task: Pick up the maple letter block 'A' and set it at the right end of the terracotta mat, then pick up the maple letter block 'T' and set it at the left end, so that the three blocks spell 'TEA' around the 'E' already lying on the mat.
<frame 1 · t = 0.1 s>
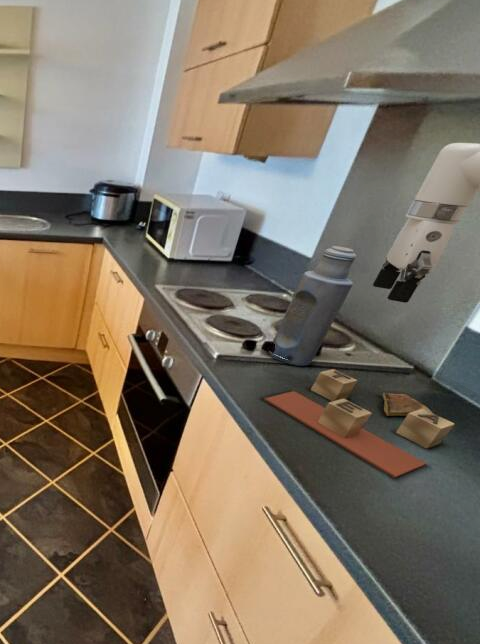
hand: (388, 293, 89), 24 cm above the counter, tool pointing down, fingers open, 9 cm apart
bottle: (288, 358, 111), on the counter
letter A: (417, 438, 83), on the counter
word mat: (336, 429, 84), on the counter
letter T: (328, 394, 96), on the counter
shard: (404, 412, 91), on the counter
letter E: (344, 417, 82), on the word mat
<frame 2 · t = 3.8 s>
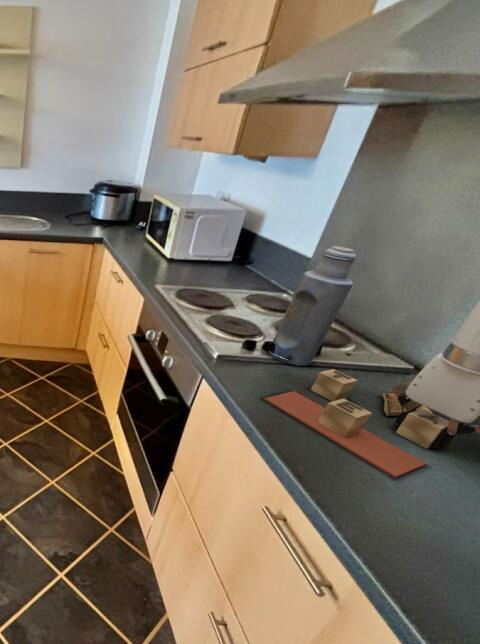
hand: (418, 436, 83), 0 cm above the counter, tool pointing down, fingers closed on letter A, 5 cm apart
letter A: (417, 438, 83), on the counter, touching gripper
everything else where it was.
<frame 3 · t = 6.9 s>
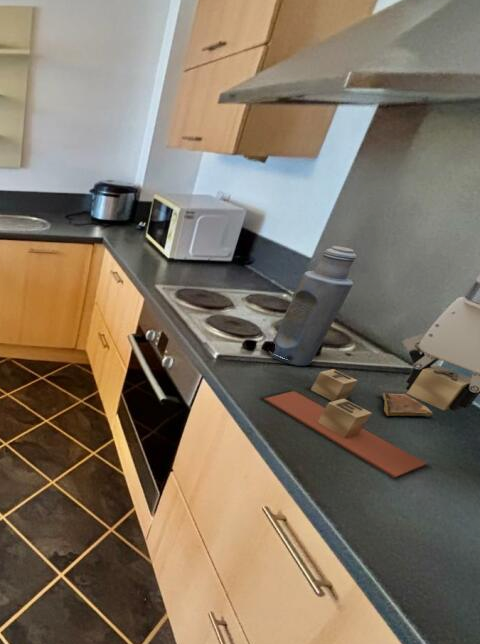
hand: (433, 397, 70), 14 cm above the counter, tool pointing down, fingers closed on letter A, 5 cm apart
letter A: (432, 399, 71), point 14 cm above the counter, touching gripper
everything else where it was.
when the fingers open (1 cm above the counter, at t = 10.2 s): letter A stays where it is, resting on word mat.
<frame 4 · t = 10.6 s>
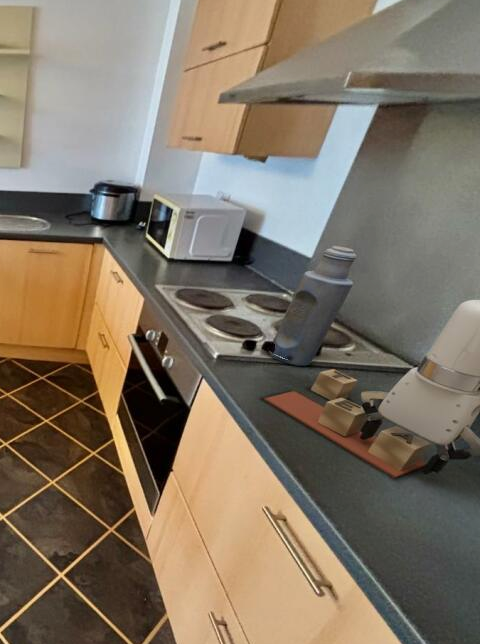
hand: (395, 453, 76), 2 cm above the counter, tool pointing down, fingers open, 8 cm apart
letter A: (390, 458, 76), resting on word mat
letter E: (343, 416, 82), on the word mat, touching gripper
everything else where it was.
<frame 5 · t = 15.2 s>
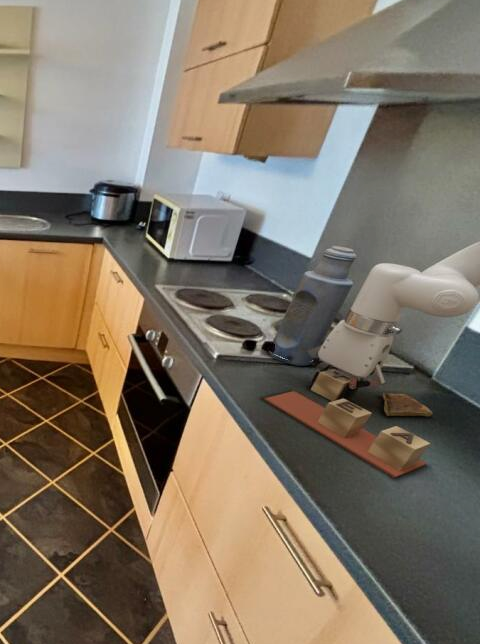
hand: (329, 392, 96), 0 cm above the counter, tool pointing down, fingers closed on letter T, 5 cm apart
letter T: (328, 394, 96), on the counter, touching gripper
letter E: (344, 417, 82), on the word mat
everything else where it was.
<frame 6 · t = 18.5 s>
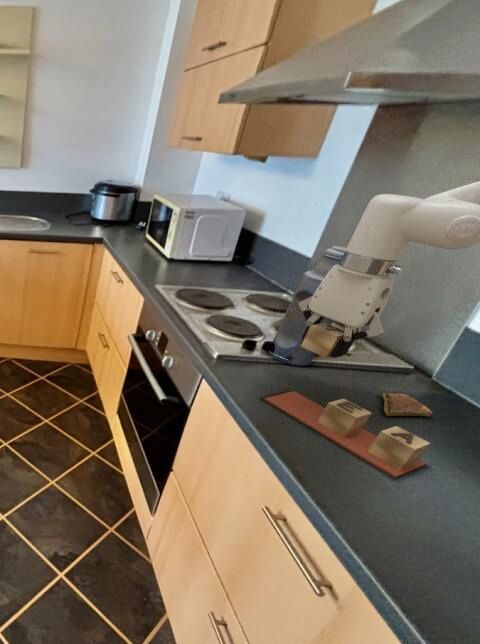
hand: (321, 348, 85), 14 cm above the counter, tool pointing down, fingers closed on letter T, 5 cm apart
letter T: (320, 350, 85), point 13 cm above the counter, touching gripper
everything else where it was.
when the fingers open (1 cm above the counter, at t = 21.8 s): letter T stays where it is, resting on word mat.
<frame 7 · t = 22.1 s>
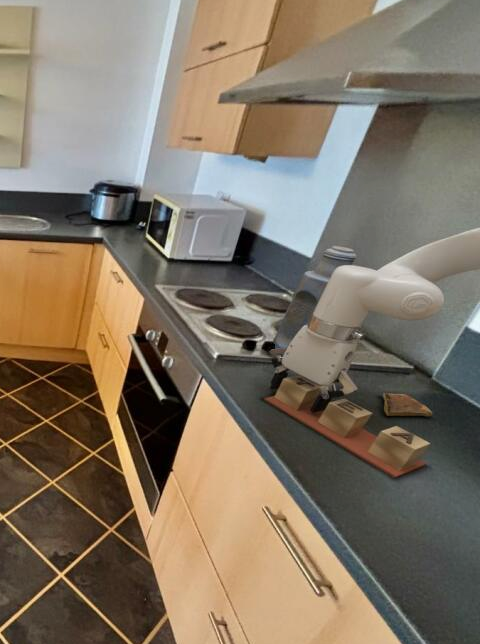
hand: (294, 399, 91), 1 cm above the counter, tool pointing down, fingers open, 8 cm apart
letter T: (292, 401, 91), resting on word mat
letter E: (344, 417, 82), on the word mat, touching gripper
everything else where it was.
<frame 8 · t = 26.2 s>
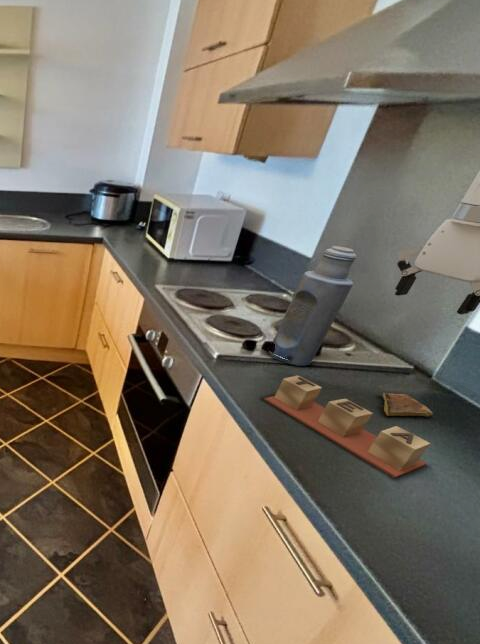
hand: (429, 303, 83), 24 cm above the counter, tool pointing down, fingers open, 9 cm apart
letter E: (344, 417, 83), on the word mat
everything else where it was.
at the end: letter A 0.1 cm from the target spot, point 0.5 cm above the counter; letter T 0.1 cm from the target spot, point 0.5 cm above the counter; letter E moved 0.3 cm from its start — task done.
